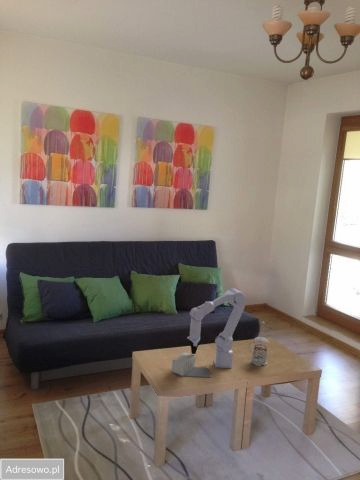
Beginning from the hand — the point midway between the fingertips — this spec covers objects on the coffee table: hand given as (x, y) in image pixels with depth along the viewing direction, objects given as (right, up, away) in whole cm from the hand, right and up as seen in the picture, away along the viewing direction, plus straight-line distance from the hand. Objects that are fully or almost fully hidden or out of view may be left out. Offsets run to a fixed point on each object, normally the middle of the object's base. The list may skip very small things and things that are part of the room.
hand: (193, 353), depth 231 cm
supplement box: (-2, -4, +2) cm, 5 cm away
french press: (+38, -9, +15) cm, 42 cm away
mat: (0, -9, -4) cm, 10 cm away
